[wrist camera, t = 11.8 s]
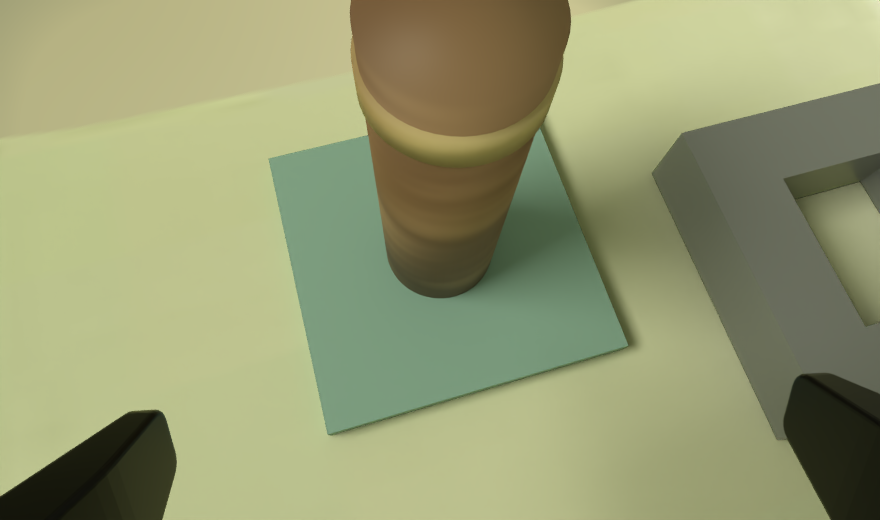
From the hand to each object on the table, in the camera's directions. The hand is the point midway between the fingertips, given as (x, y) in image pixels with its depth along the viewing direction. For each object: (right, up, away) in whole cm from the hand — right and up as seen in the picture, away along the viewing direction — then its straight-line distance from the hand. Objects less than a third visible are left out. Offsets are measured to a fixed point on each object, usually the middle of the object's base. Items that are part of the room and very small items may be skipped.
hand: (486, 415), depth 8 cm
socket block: (+15, +2, +14) cm, 21 cm away
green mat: (-1, +2, +14) cm, 14 cm away
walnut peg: (-1, +3, +13) cm, 14 cm away
